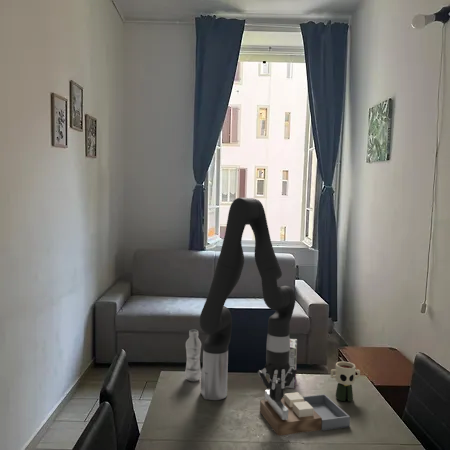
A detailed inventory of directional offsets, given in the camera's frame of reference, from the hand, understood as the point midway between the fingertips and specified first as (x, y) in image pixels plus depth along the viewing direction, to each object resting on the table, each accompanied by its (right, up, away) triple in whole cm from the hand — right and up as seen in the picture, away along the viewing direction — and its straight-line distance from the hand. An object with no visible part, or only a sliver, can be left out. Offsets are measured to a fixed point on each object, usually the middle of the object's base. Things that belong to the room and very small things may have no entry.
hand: (276, 398), depth 150 cm
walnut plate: (+5, -8, +2) cm, 9 cm away
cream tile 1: (+7, -4, +6) cm, 10 cm away
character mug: (+27, -8, +19) cm, 34 cm away
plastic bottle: (-30, -5, +32) cm, 44 cm away
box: (+17, -8, +5) cm, 19 cm away
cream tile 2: (+9, -4, -1) cm, 10 cm away
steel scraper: (0, -3, 0) cm, 3 cm away
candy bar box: (+9, -6, +32) cm, 34 cm away
